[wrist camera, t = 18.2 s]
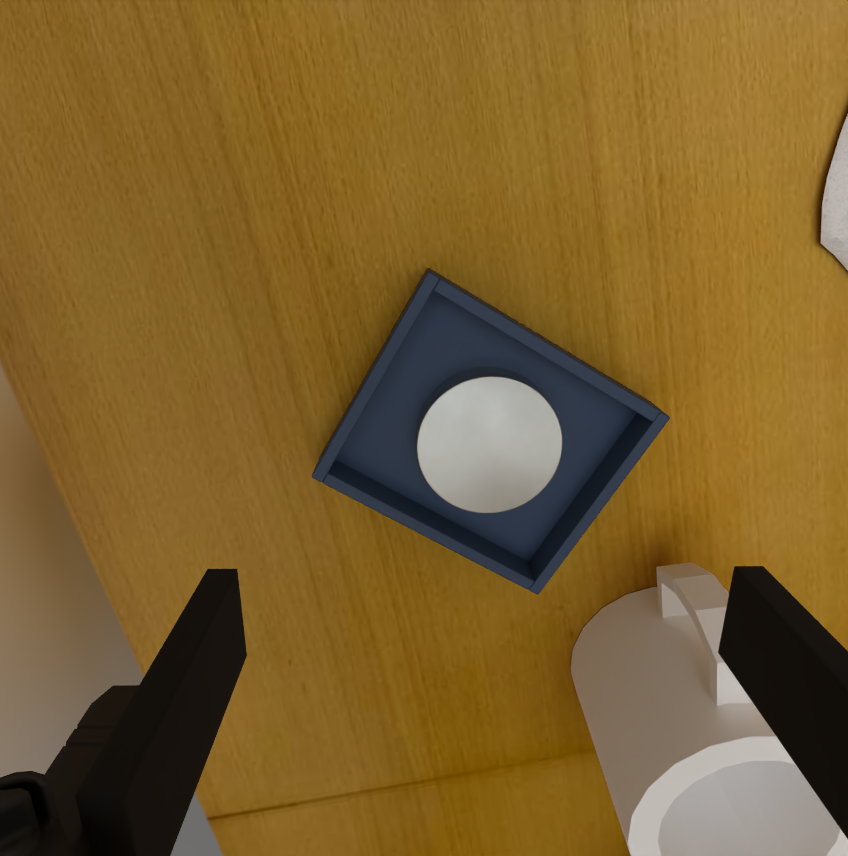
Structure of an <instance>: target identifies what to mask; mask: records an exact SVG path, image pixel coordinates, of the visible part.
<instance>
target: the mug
mask: <svg viewBox="0 0 848 856" xmlns="http://www.w3.org/2000/svg"><path fill="white" fill-rule="evenodd" d="M656 569H657V587H651V588H648V589H644V590H640V591H636V592H633V593H629V594H626V595H624V596H622V597H621V598H619V599H617V600H615V601H614V602H612V603H610V604H608V605H607V606H605V607H603V608H602V609H601V610H600V611H599V612H598V613H597V614H596V615H595V616H594V617H593V618H592V619H591V620H590V621H589V622H588V623H587V624H586V625H585V626H584V627H583V629H582V631H581V633H580V635H579V637H578V639H577V641H576V643H575V645H574V648H573V651H572V661H571V671H570V672H571V675H572V678H573V682H574V685H575V689H576V692H577V695H578V698H579V701H580V704H581V707H582V710H583V713H584V716H585V719H586V722H587V725H588V728H589V731H590V734H591V738H592V741H593V744H594V747H595V750H596V753H597V756H598V759H599V762H600V765H601V768H602V771H603V774H604V777H605V780H606V783H607V786H608V789H609V792H610V795H611V798H612V801H613V804H614V807H615V810H616V813H617V816H618V819H619V822H620V825H621V828H622V831H623V834H624V837H625V840H626V843H627V846H628V849H629V852H630V855H631V856H848V839H847V838H846V836H845V835H844V833H843V832H842V830H841V829H840V828H839V826H838V825H837V823H836V822H835V820H834V819H833V817H832V816H831V815H830V813H829V812H828V810H827V809H826V807H825V806H824V805H823V803H822V802H821V800H820V799H819V797H818V796H817V794H816V793H815V792H814V790H813V789H812V787H811V786H810V784H809V783H808V781H807V780H806V779H805V777H804V776H803V774H802V773H801V771H800V770H799V768H798V767H797V766H796V764H795V763H794V761H793V760H792V758H791V757H790V756H789V754H788V753H787V751H786V750H785V748H784V747H783V745H782V744H781V743H780V741H779V740H778V738H777V737H776V735H775V734H774V732H773V731H772V730H771V728H770V727H769V725H768V724H767V722H766V721H765V720H764V718H763V717H762V715H761V714H760V712H759V711H758V709H757V708H756V707H755V705H754V704H753V702H752V701H751V699H750V698H749V696H748V695H747V694H746V692H745V691H744V689H743V688H742V686H741V685H740V683H739V682H738V681H737V679H736V678H735V676H734V675H733V673H732V672H731V671H730V669H729V668H728V666H727V665H726V663H725V662H724V660H723V659H722V658H721V656H720V655H719V653H718V649H719V644H720V639H721V634H722V628H723V623H724V618H725V613H726V608H727V603H728V597H729V593H728V592H727V591H726V590H725V588H724V587H723V586H722V584H721V583H720V582H719V581H718V579H717V578H716V577H715V575H714V574H712V573H710V572H709V571H707V570H705V569H704V568H702V567H700V566H699V565H697V564H695V563H693V562H689V563H682V564H674V565H667V566H659V567H656Z"/></svg>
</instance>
